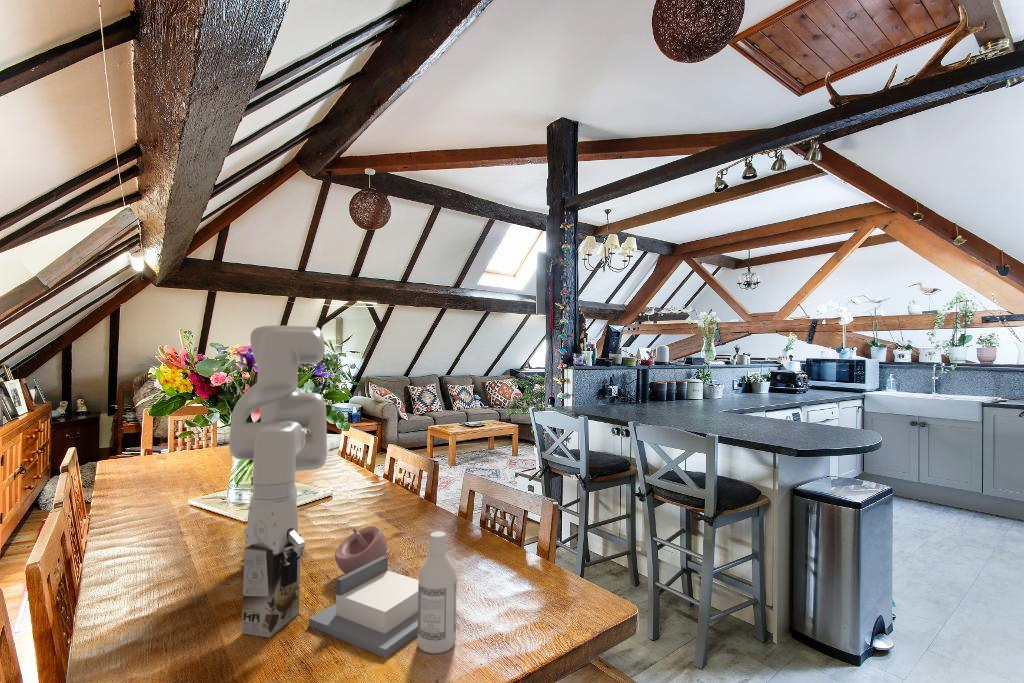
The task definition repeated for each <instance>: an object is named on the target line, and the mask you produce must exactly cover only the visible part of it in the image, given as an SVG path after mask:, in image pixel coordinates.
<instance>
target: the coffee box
mask: <svg viewBox="0 0 1024 683" xmlns="http://www.w3.org/2000/svg"><path fill="white" fill-rule="evenodd" d="M298 535H299V536H300V537H301V538H302V535H301V534H299V533H298ZM286 547H288V545H287V546H285V547H284V548H286ZM243 549H244V550H243V551H244V554H243V579H242V580H243V582H242V584H243V585H242V610H241V611H242V612H241V613H242V614H241V615H242V618H241V620H242V621H241V633H242V634H244V635H250V636H257V637H263V638H271V637H272V636H273V635H274V634H276V633H277V632H278V631H280V630H281V629H282V628H283V627H284V626H286V625H287V624H288V623H289V622H291V621H292V620H293V619H294V618H295V617H297V616H299V614H300V595H301V594H300V590H301V586H300V584H301V583H300V581H301V580H300V579H301V559H300V560H299V561H298V562H297V581H296V582H295V583H293V584H290V585H288V586H286V587H281V566H282V565H284V564H283V562H282V560H281V558H280V555H279V554H278V555H273V550H270V549H267V548H264V547H260V546H255V545H250V546H248V547H247V546H246V547H245V548H243ZM286 554H287V557H289V556H290V554H291V553H290V551H289V552H286Z"/></svg>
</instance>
